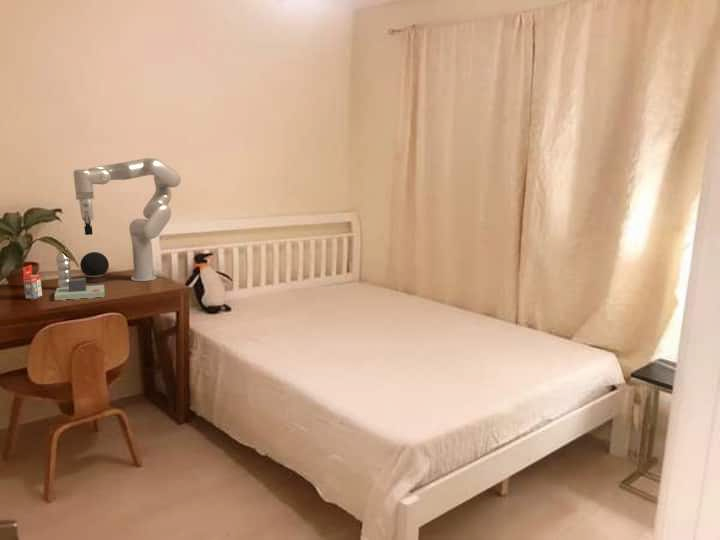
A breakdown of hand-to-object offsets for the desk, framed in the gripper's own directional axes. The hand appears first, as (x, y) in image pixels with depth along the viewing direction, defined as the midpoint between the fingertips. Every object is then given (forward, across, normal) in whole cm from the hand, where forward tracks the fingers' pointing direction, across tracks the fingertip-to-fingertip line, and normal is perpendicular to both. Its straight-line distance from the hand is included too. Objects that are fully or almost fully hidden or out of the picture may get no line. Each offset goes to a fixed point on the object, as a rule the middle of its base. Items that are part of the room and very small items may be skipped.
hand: (88, 234), depth 267 cm
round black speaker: (+27, +15, -1) cm, 31 cm away
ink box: (+26, -11, +25) cm, 38 cm away
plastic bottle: (+26, +3, +13) cm, 29 cm away
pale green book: (+26, -14, +6) cm, 30 cm away
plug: (+26, -14, +7) cm, 30 cm away
